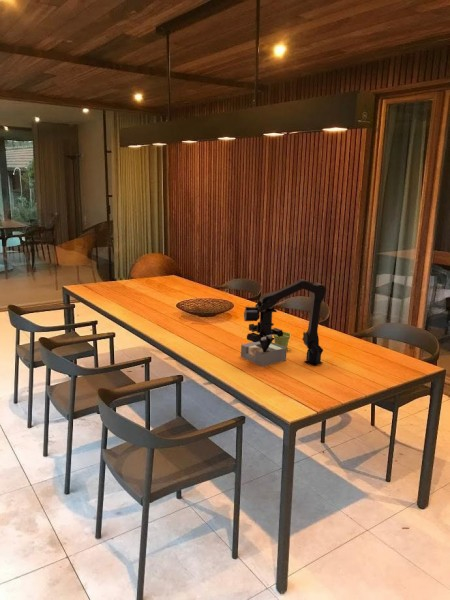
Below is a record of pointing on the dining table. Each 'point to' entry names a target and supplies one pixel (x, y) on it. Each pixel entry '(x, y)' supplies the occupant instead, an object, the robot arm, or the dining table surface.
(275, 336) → the plant pot
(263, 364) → the jig board
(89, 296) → the dining table surface
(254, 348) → the maple block
